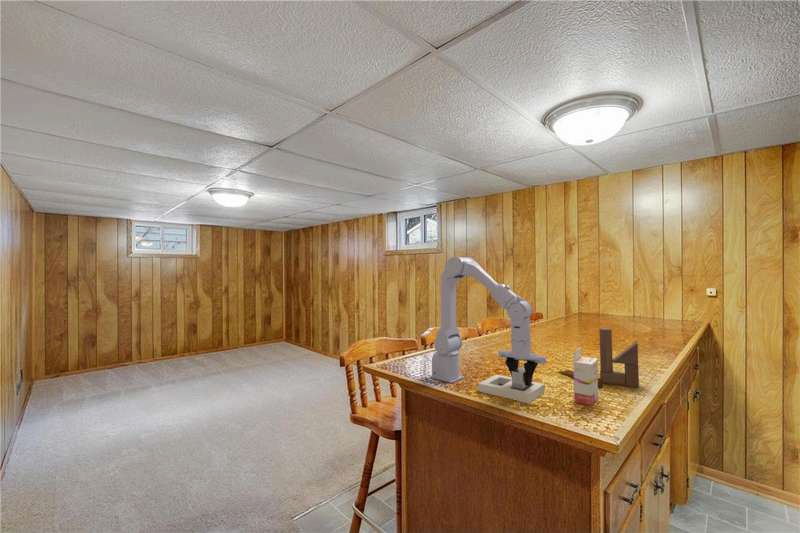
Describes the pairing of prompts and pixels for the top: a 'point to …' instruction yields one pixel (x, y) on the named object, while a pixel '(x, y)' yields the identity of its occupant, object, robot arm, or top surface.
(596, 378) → the ink cartridge box
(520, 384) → the tall grey block
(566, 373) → the primitive tool
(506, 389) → the light grey flat piece
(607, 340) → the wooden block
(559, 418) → the top surface
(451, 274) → the robot arm
